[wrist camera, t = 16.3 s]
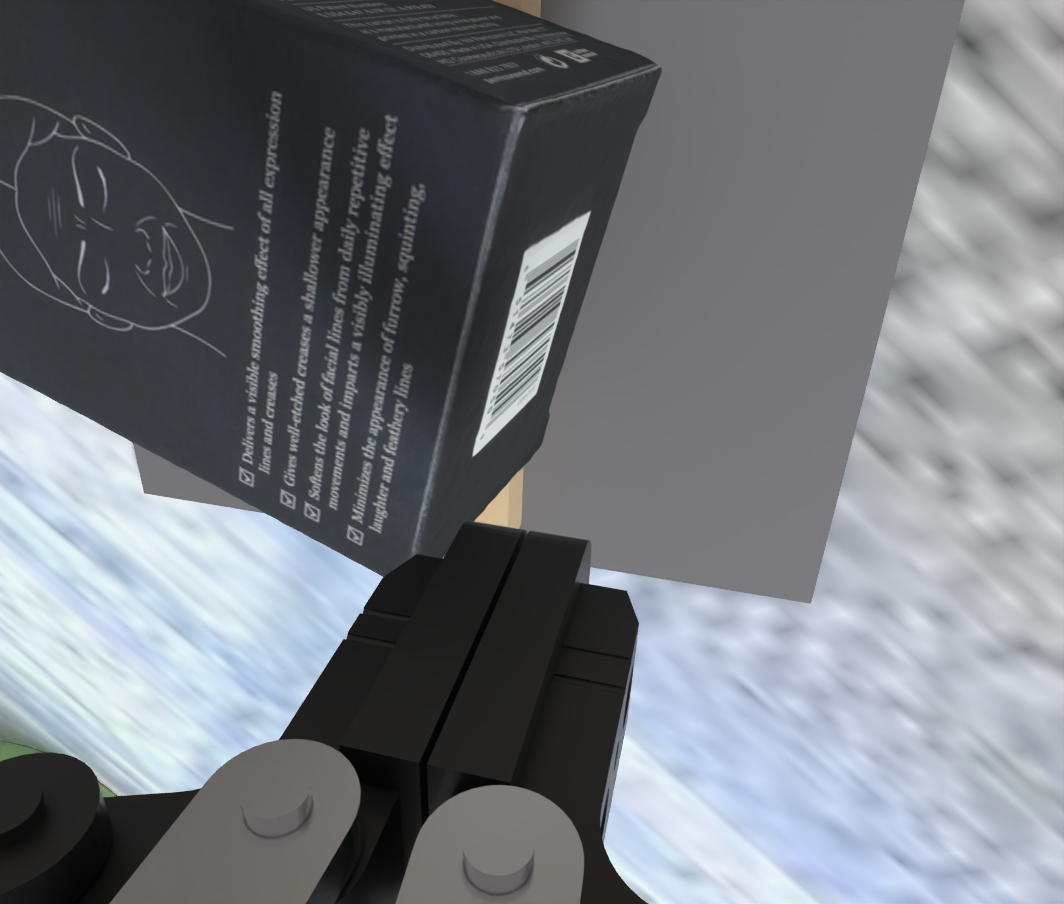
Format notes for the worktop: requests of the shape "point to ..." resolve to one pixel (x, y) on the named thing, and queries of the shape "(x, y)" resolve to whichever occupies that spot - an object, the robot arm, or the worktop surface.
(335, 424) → the box
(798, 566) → the mat
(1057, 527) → the worktop surface
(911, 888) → the worktop surface
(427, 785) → the robot arm
